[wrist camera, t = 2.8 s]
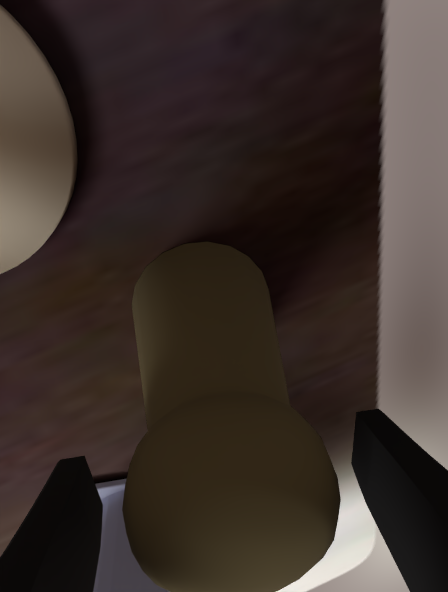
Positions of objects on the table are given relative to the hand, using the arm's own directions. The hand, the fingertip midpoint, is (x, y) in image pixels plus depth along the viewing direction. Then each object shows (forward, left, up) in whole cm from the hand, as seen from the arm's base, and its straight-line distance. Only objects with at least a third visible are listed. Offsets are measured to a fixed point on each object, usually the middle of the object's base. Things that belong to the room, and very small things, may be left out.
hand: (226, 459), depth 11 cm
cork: (0, 0, -8) cm, 8 cm away
